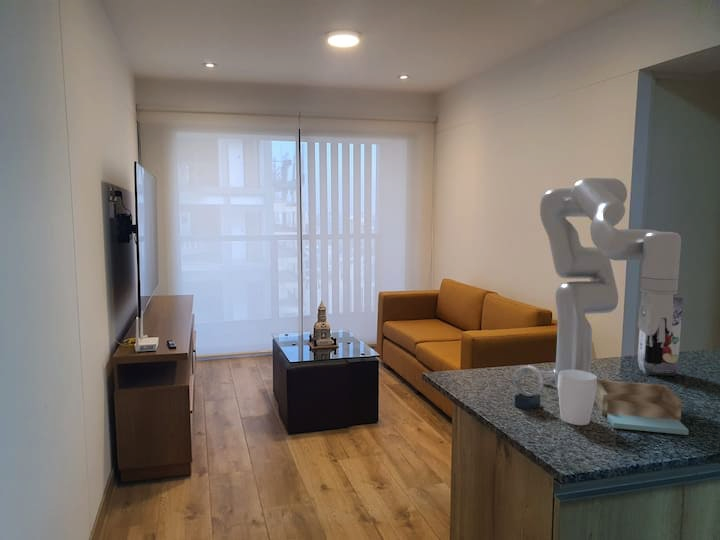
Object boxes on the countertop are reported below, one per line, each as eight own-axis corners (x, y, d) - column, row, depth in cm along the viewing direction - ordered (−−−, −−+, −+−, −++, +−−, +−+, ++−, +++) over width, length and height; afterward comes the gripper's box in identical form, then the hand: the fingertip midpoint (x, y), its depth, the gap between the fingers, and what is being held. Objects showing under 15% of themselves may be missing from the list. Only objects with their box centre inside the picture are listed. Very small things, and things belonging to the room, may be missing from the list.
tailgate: (607, 418, 134) (613, 427, 127) (607, 413, 134) (613, 422, 127) (678, 424, 130) (688, 435, 123) (678, 419, 130) (688, 430, 123)
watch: (519, 399, 148) (521, 361, 147) (546, 407, 142) (548, 367, 141) (508, 404, 144) (509, 364, 143) (534, 412, 138) (536, 371, 137)
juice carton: (634, 368, 178) (639, 288, 175) (667, 369, 177) (673, 289, 174) (644, 376, 170) (650, 292, 167) (680, 377, 168) (686, 293, 165)
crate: (601, 417, 135) (602, 394, 135) (592, 400, 147) (593, 379, 147) (680, 424, 131) (682, 401, 130) (664, 406, 143) (666, 385, 142)
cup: (591, 431, 126) (594, 382, 125) (552, 423, 131) (554, 376, 130) (597, 419, 134) (600, 373, 133) (559, 412, 139) (562, 367, 137)
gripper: (632, 280, 131) (627, 353, 133) (650, 289, 116) (644, 370, 118) (666, 281, 129) (660, 355, 131) (688, 291, 114) (681, 373, 117)
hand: (652, 362), depth 125 cm, fingers closed
